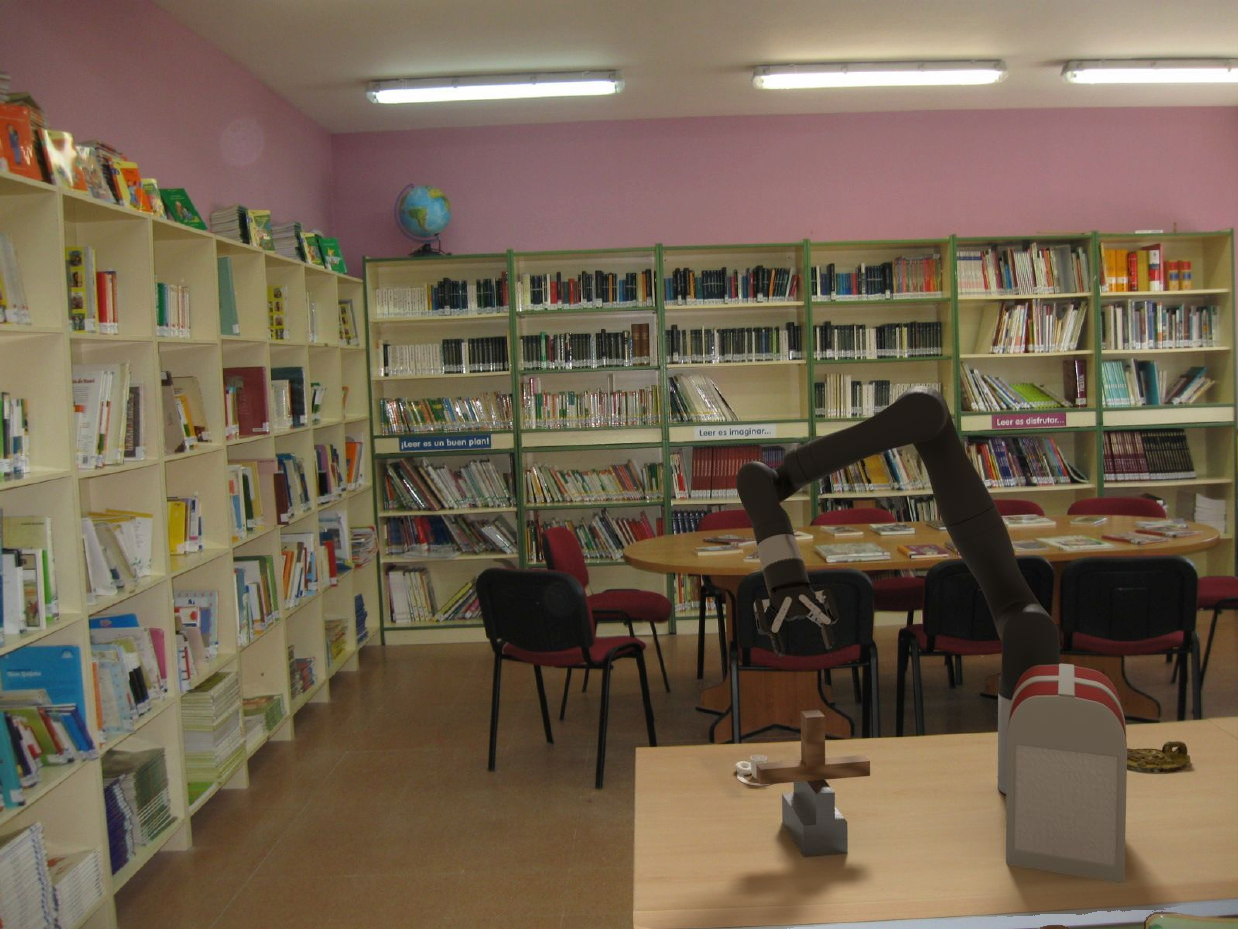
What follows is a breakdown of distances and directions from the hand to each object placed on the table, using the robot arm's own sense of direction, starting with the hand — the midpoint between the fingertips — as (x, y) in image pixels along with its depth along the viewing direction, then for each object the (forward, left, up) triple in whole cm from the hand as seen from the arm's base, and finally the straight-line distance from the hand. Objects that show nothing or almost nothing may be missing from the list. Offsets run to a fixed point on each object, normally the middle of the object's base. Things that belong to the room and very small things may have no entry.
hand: (806, 651), depth 172 cm
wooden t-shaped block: (-4, +13, -17) cm, 21 cm away
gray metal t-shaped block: (-4, +13, -27) cm, 30 cm away
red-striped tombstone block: (-41, +3, -27) cm, 49 cm away
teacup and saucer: (+11, -10, -27) cm, 31 cm away
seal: (-56, -38, -27) cm, 73 cm away
